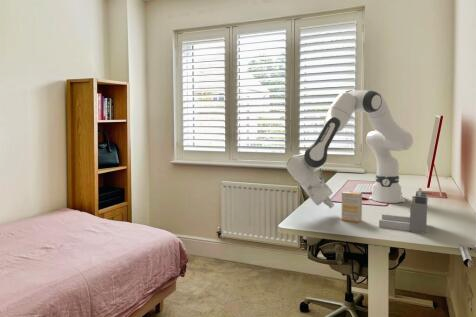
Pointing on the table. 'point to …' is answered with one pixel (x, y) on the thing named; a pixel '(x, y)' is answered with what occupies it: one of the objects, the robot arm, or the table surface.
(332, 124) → the robot arm
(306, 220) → the table surface
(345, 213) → the supplement box
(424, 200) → the gray l-shaped stand
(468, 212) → the table surface
